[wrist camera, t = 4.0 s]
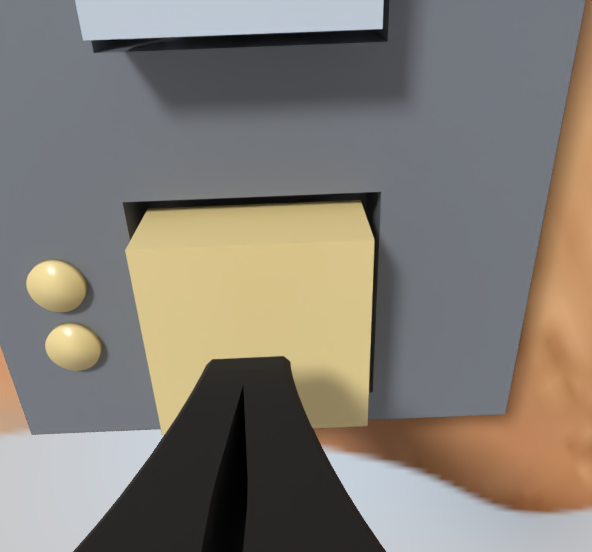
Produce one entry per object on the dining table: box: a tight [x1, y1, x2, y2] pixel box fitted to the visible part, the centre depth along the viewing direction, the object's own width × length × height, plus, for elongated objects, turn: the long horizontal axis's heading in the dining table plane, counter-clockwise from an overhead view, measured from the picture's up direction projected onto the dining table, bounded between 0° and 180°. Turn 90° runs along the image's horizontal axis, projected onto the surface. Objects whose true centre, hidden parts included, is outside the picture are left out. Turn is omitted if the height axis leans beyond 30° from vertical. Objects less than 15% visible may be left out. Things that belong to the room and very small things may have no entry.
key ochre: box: [125, 200, 375, 435], centre depth 12 cm, size 4×4×2 cm
